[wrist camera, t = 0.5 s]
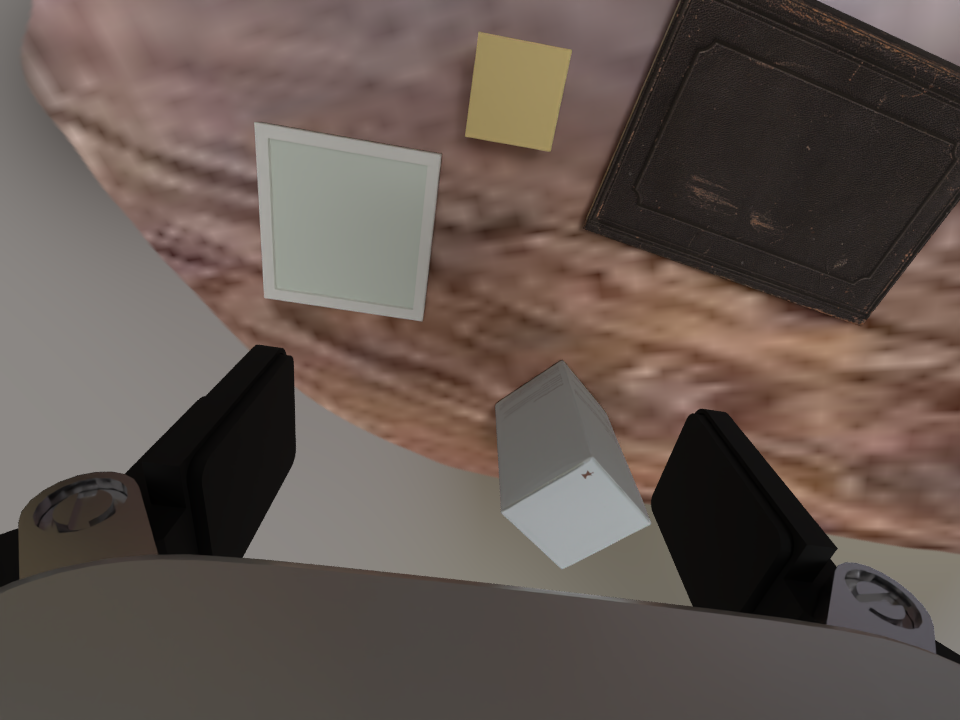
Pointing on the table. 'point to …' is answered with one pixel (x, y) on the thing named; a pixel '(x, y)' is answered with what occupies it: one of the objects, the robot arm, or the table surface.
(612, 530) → the supplement box
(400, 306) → the mat
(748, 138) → the hardcover book
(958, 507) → the table surface
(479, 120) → the ochre cube
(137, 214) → the table surface
